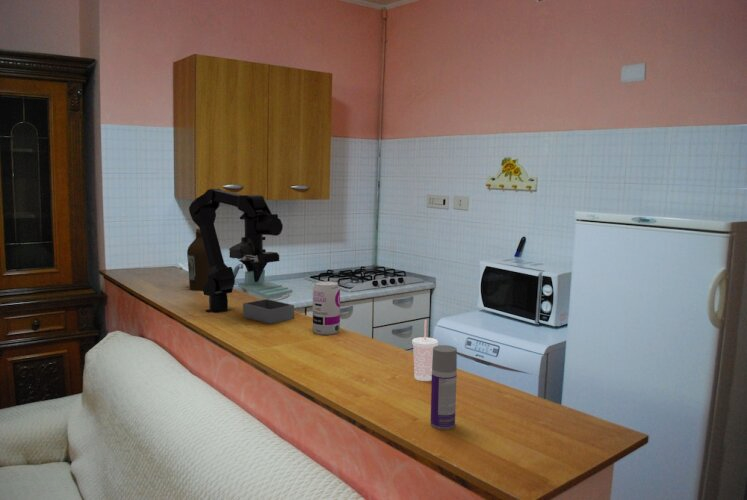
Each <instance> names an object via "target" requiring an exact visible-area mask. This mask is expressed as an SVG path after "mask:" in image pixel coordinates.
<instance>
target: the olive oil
mask: <svg viewBox="0 0 747 500" xmlns="http://www.w3.org/2000/svg"><path fill="white" fill-rule="evenodd" d="M186 253H187V254H186V256H187V268H188V283H189V284H188V285H189V290H191V291H197V292H198V291H200V292H203V288H204V287H205V285H206V284H207V283H208V272H209V269H210V265H209V262H208V258H207V254H206V250H205V247H204V243H203V239H202V235H201V232H200V228H196V229H195V239H194V240H193V241H192V242H191V243H190V244H189V246H188V247H187V251H186Z"/></svg>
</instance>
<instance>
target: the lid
mask: <svg viewBox="0 0 747 500" xmlns="http://www.w3.org/2000/svg"><path fill="white" fill-rule="evenodd" d="M265 274H266V269H264V270H263V272H262V274H261V276H260V278H259V281H258V282H255V279H254V271H247V270H246V271H245V272H244V281H243V282H241V283H238V284H237V287H240V288H242V289H244V290H246V291H248V292H251V293H253V294H257V295H258V296H261V297H264V298H265V299H269V298H275V297H279V296H280V297H281V296H283V295H288V294H291V293H293V291H294V290H293V289H292V288H289V287H286V286H282V285H281V284H277V283H274V282H271V281H269V280H265V276H266V275H265Z"/></svg>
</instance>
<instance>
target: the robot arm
mask: <svg viewBox="0 0 747 500" xmlns="http://www.w3.org/2000/svg"><path fill="white" fill-rule="evenodd" d="M221 203H222V204H224V205H225V204H226V205H229V206H233V207H235V208H237V209H238V210H239V211H241V212H243V214H241V215H240V216H239V219H240V220H242V221H243V220H244V221H243V222H244V225H243V226H244V236H242V237H241V238H240V242H239V243H237V244H234V245H233V246H231V247H230V248H228V250H229V258H231V259H237V260H238V261H239V262H240V263H242V264H243V266H245V269H246V272H247V271H254V279H255V282H258V281H259V278H260V276H261V274H262V272H263V270H265V268H266V267H267V264H268V263H274V262H280V254H279V253H278V252H275V251H266V248H264V241H266V236H272V237H273V236H274V237H275V236H276V237H277V236H279V235H281V233H282V231H283V227H284V225H283V222H282V221H281V219H280V218H279V214H277V213H272V212H271V209H270V208H269V206H268V204H267V202H266V200H265V197H264V195H262V194H247V195H245V194H244V195H243V194H240V193H235V192H232V191H226V190H222V189H221V188H209V189H207V190H206V191H205V192H204V193H203V194H201V195H200V196H198V197H196V198H195V199H194V200H193V201H192V202H191V203H190V205H189V207H188V211H189V214H190V217H191V220H192V221H193V223H195V224H196V226H198V229H200V232H201V235H202V239H203V243H204V247H205V250H206V254H207V258H208V262H209V265H210V269H209V272H208V283H207V284H206V285H205V287H204V288H203V291H202V292H203V295H204V296H206V297H207V296H208V300H209V301H208V302H209V304H208V306H209V307H208V308H207V309H205V312H207V313H214V314H218V313H222V312H223V313H224V312H229V311H231V310H232V309H230V308H229V306H228V305H229V304H228V303H229V302H228V301H229V300H228V294H232V293H233V289H234V285H235V283H236V282H235V281H236V279H235V278H236V276H235V274H234V269H233V267H232V266H228V265H226V264H225V260H224V258H223V253H222V249H221V245H220V242H219V238H218V234H217V231H216V227H215V221H216V218H217V213H216V211H217V210H218V208H219V207H220V205H221ZM264 235H265V236H264Z"/></svg>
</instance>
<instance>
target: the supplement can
mask: <svg viewBox="0 0 747 500" xmlns="http://www.w3.org/2000/svg"><path fill="white" fill-rule="evenodd" d="M340 330H341V288H340V285H339V282H338V281H337V282H336V281H330V280H329V281H326V280H324V281H323V280H320V281H316V282H314V285H313V286H312V331H313V332H314V333H315V334H317V335H325V336H328V335H329V336H330V335H335V334H337V333H338V332H339V331H340Z"/></svg>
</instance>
